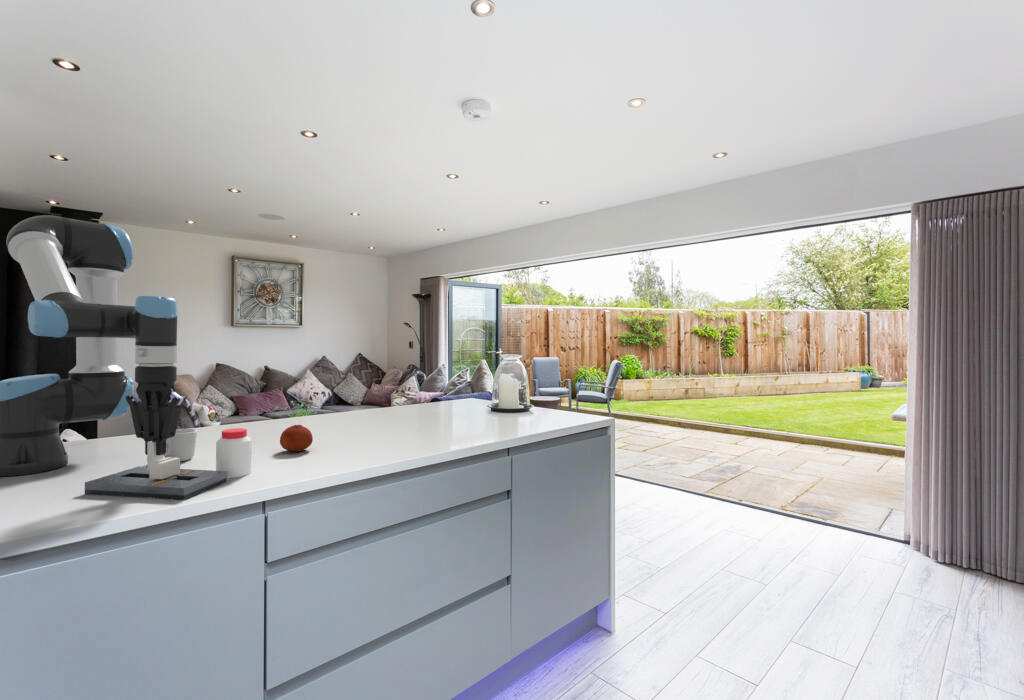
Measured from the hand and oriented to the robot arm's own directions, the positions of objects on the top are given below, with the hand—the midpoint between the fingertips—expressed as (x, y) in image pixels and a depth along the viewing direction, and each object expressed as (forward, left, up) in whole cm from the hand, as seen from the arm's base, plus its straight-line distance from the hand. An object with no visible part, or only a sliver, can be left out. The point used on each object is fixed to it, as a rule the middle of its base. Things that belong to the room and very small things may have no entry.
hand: (155, 469), depth 107 cm
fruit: (+11, +38, -5) cm, 40 cm away
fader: (+2, 0, -3) cm, 4 cm away
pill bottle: (+9, +13, -4) cm, 17 cm away
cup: (-14, +21, -4) cm, 26 cm away
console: (+1, 0, -4) cm, 4 cm away
